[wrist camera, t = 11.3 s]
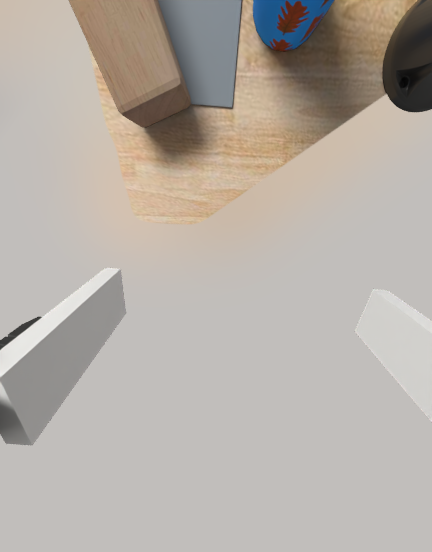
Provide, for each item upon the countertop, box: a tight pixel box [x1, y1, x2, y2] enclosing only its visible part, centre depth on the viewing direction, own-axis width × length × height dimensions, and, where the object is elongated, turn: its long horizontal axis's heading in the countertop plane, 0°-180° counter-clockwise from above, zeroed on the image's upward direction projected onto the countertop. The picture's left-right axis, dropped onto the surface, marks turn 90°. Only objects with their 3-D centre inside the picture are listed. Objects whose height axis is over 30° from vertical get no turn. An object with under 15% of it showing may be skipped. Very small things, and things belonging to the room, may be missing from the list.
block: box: [69, 0, 191, 127], centre depth 30 cm, size 10×10×20 cm
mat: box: [158, 0, 241, 108], centre depth 33 cm, size 18×21×1 cm
